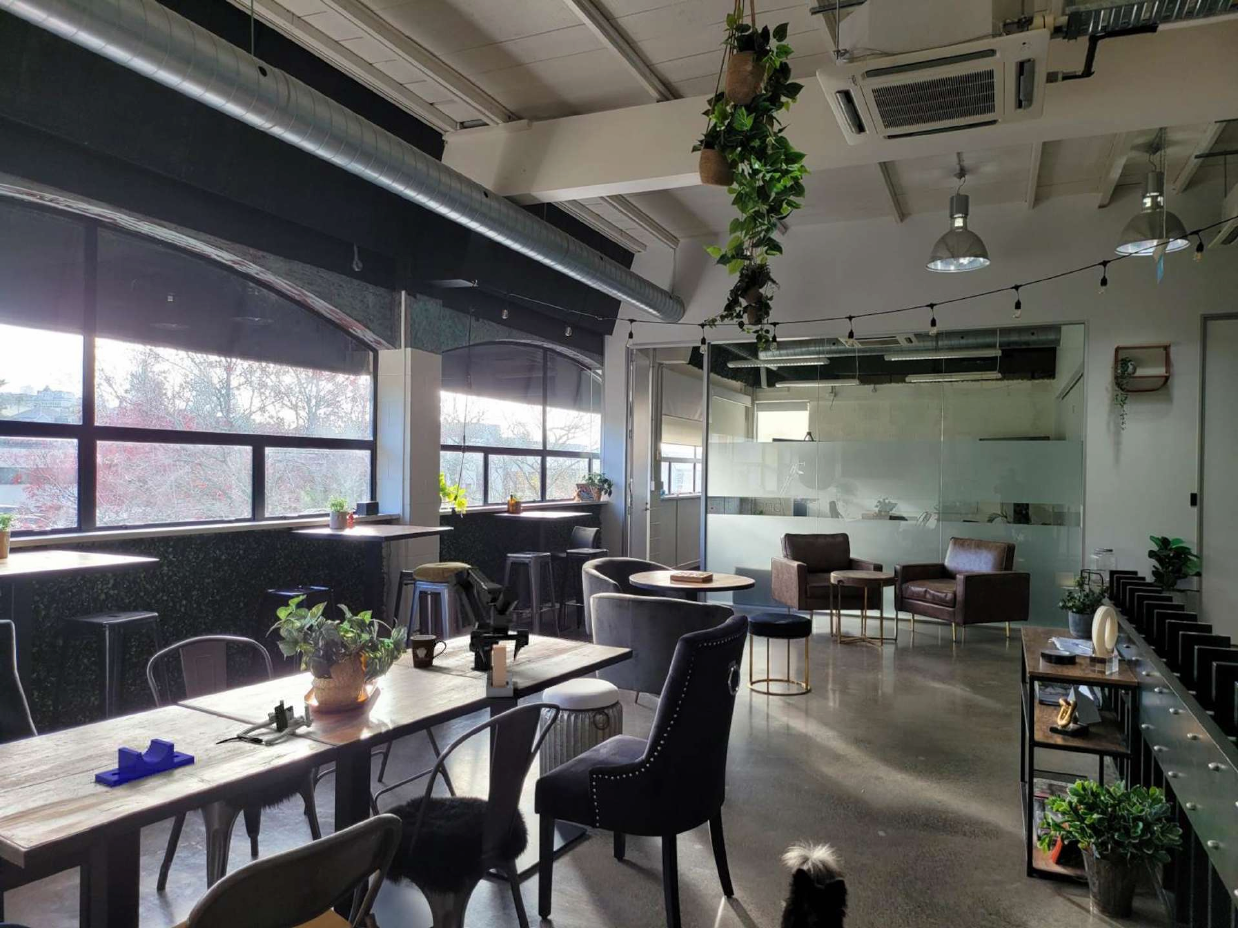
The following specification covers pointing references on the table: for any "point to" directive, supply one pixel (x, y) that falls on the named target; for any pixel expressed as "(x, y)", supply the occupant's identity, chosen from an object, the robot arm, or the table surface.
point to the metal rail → (499, 687)
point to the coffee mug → (424, 650)
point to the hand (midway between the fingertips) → (499, 660)
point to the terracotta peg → (499, 665)
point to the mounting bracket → (144, 763)
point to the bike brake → (277, 724)
